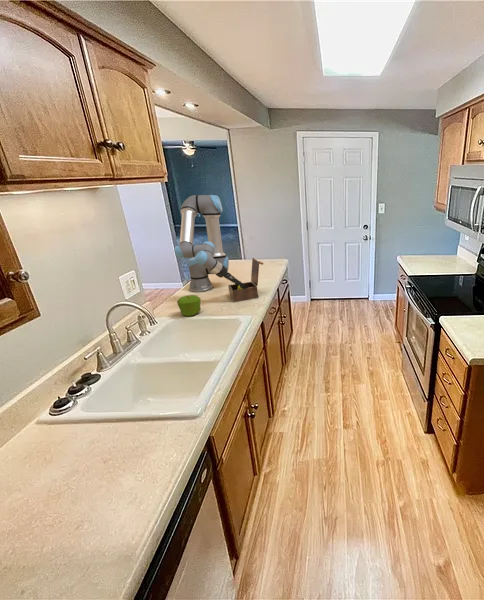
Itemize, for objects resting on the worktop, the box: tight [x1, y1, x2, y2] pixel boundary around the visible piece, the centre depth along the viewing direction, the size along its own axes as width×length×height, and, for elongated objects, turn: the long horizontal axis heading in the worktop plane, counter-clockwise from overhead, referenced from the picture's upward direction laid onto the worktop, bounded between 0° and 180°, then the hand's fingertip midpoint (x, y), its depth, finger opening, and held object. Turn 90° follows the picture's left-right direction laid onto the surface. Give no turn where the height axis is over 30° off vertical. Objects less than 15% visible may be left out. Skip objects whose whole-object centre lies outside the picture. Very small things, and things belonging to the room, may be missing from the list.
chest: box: [227, 281, 259, 303], centre depth 220 cm, size 16×14×8 cm
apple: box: [176, 294, 202, 317], centre depth 192 cm, size 12×12×11 cm
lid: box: [250, 257, 264, 287], centre depth 221 cm, size 16×14×5 cm
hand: (246, 288), depth 221 cm, fingers closed on lemon, 8 cm apart
